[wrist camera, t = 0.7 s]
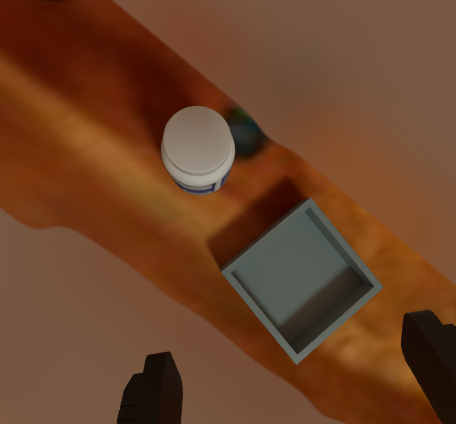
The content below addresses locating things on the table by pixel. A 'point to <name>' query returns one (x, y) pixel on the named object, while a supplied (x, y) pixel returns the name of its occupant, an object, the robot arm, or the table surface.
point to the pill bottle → (198, 150)
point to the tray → (301, 279)
